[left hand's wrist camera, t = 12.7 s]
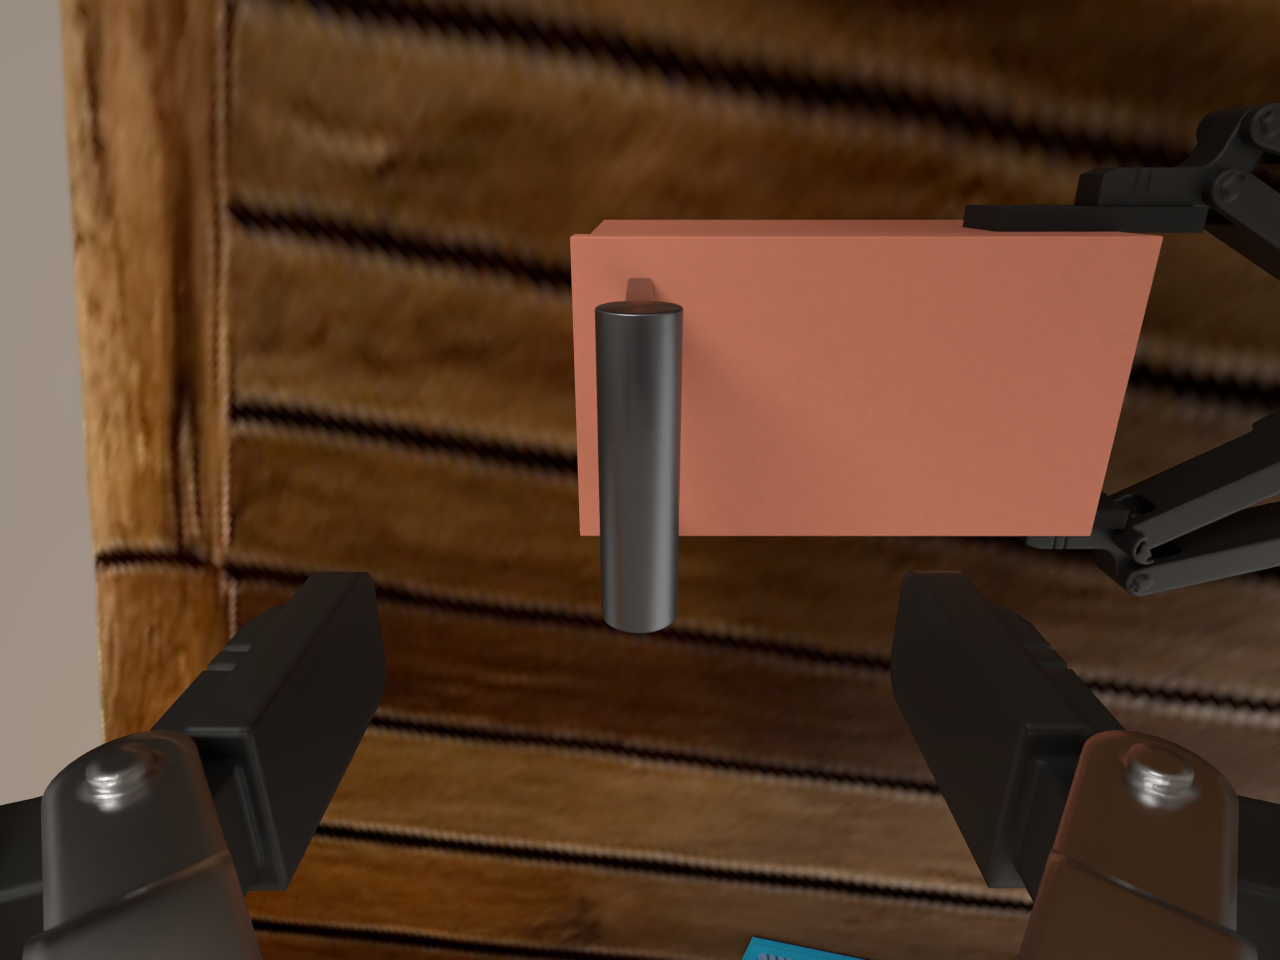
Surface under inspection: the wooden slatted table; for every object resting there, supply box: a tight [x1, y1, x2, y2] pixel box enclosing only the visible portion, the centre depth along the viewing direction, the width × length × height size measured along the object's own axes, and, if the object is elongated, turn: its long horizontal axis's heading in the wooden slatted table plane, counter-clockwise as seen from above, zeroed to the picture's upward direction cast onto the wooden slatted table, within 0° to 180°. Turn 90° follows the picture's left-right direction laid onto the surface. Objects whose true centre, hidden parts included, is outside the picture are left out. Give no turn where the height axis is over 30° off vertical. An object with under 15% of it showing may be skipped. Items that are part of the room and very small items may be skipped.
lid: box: [570, 234, 1163, 633], centre depth 21 cm, size 17×10×9 cm, turn 90°
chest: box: [591, 220, 1134, 234], centre depth 29 cm, size 17×10×9 cm, turn 90°
